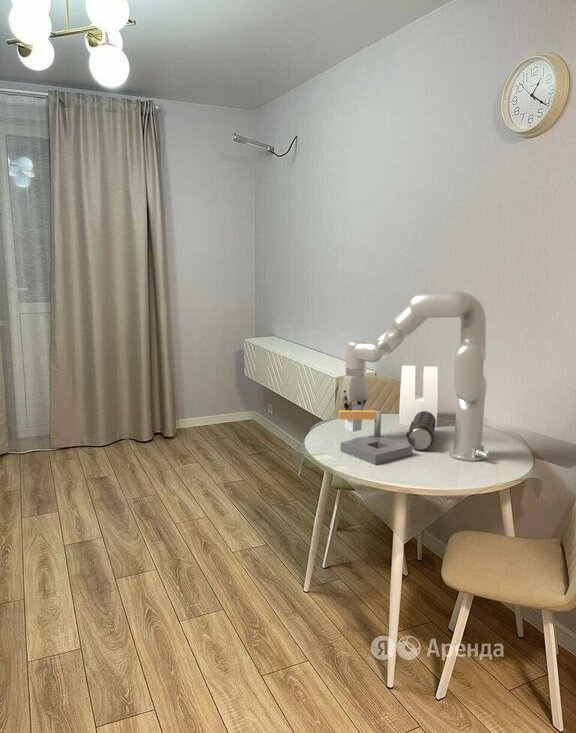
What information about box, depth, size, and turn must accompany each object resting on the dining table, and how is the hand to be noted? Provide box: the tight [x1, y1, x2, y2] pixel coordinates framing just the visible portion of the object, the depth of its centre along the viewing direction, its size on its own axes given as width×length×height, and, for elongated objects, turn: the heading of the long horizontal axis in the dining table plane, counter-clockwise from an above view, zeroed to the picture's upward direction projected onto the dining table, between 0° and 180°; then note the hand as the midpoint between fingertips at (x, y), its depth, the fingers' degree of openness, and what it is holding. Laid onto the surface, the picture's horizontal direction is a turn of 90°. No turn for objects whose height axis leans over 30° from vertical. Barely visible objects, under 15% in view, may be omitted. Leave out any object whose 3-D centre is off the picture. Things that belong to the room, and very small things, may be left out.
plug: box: [344, 402, 363, 433], centre depth 226 cm, size 5×5×10 cm
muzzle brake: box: [405, 411, 437, 451], centre depth 226 cm, size 10×28×10 cm
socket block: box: [339, 434, 414, 466], centre depth 211 cm, size 18×19×4 cm
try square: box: [338, 409, 382, 437], centre depth 219 cm, size 16×2×10 cm, turn 93°
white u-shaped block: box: [398, 364, 439, 427], centre depth 256 cm, size 19×15×25 cm
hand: (353, 417), depth 226 cm, fingers closed on plug, 4 cm apart
